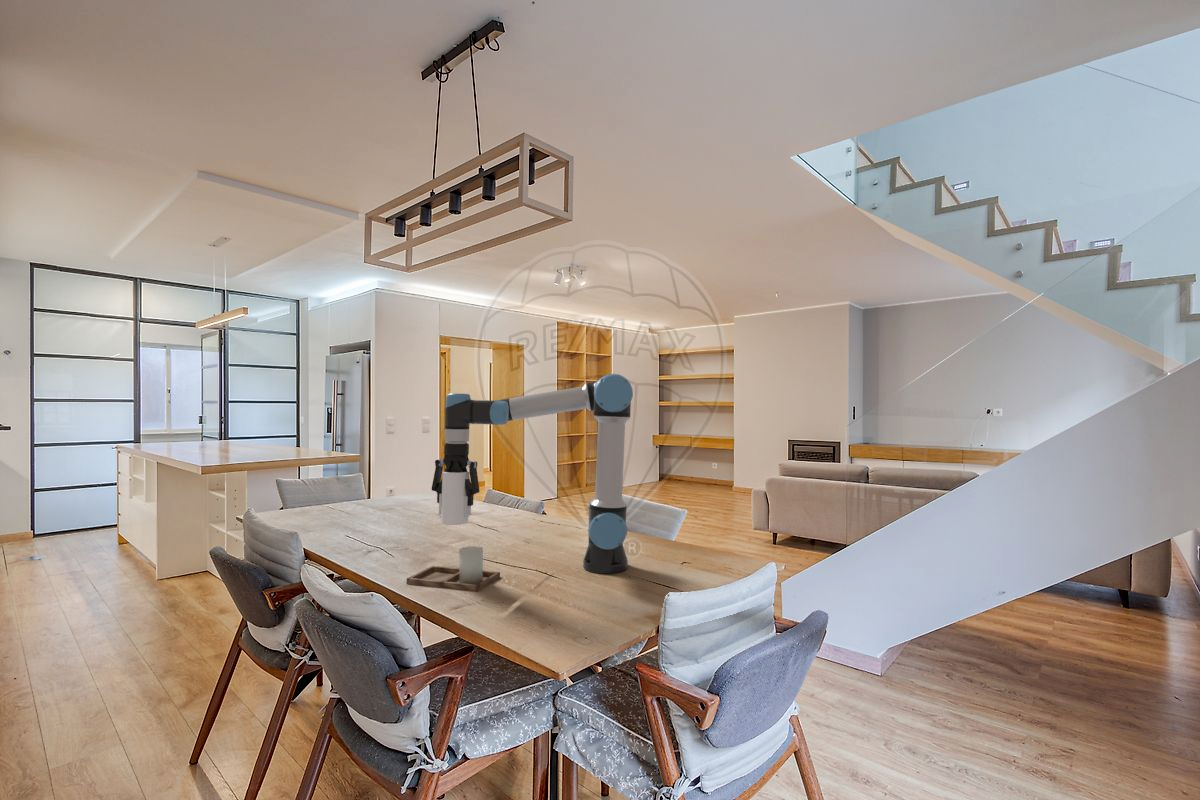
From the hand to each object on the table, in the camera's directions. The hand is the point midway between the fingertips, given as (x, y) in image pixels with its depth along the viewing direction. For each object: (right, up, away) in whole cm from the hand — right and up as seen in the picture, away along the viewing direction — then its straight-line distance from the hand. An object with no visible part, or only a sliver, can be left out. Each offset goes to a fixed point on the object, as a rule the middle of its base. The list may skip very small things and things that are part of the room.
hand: (454, 514), depth 177 cm
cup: (0, -2, 0) cm, 2 cm away
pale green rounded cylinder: (+6, -19, -5) cm, 21 cm away
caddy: (+1, -20, -3) cm, 21 cm away
